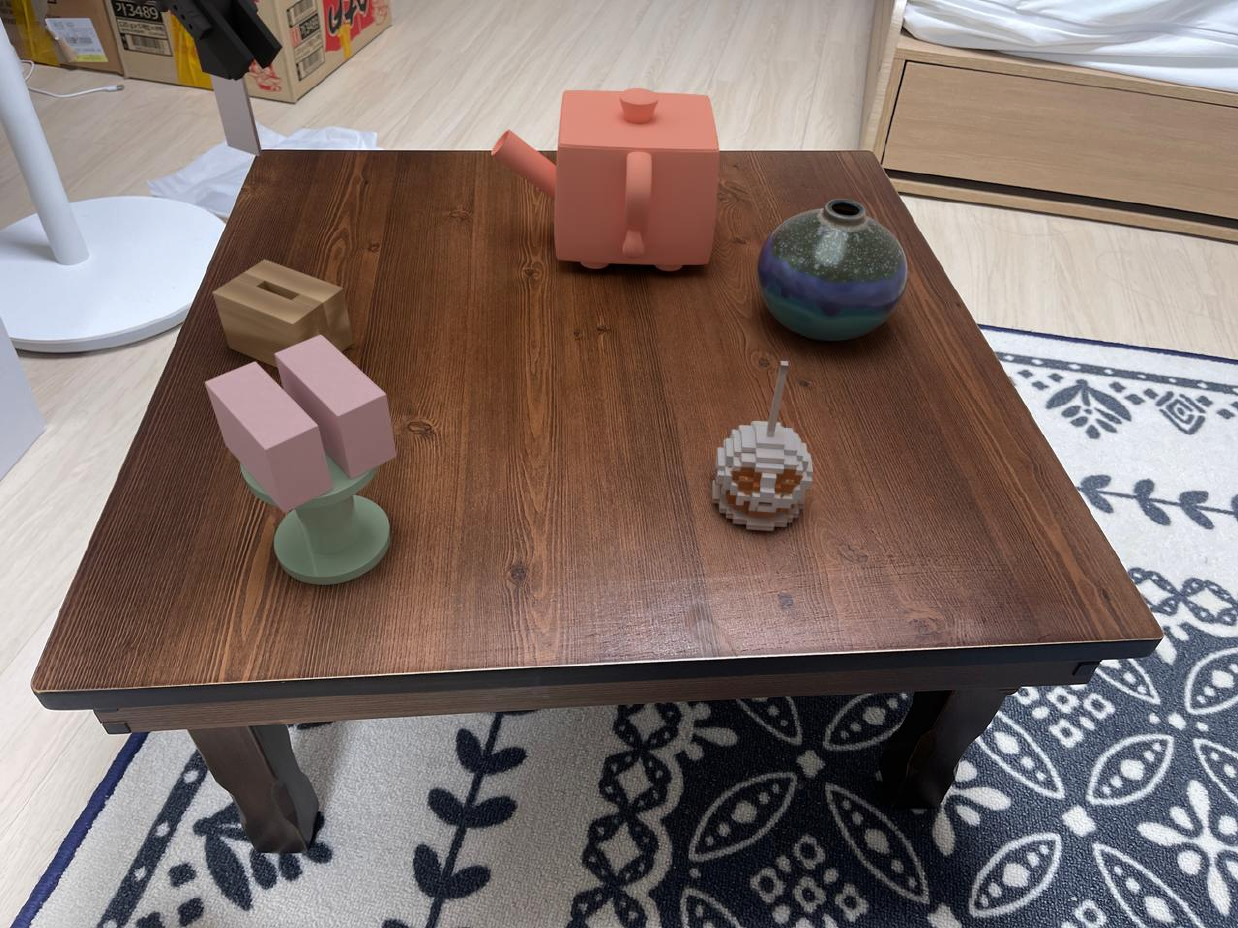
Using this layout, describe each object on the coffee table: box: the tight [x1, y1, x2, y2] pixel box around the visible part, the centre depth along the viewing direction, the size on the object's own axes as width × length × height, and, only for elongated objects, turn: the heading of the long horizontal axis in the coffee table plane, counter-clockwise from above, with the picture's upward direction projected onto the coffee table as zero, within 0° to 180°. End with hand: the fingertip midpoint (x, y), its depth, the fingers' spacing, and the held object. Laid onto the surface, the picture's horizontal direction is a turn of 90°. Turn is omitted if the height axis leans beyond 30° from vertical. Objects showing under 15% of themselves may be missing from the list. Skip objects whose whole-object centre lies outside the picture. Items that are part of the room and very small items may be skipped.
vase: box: [756, 198, 909, 342], centre depth 97 cm, size 15×15×13 cm
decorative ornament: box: [711, 360, 814, 532], centre depth 76 cm, size 8×8×15 cm
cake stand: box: [239, 451, 392, 586], centre depth 72 cm, size 10×10×10 cm
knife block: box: [212, 259, 354, 369], centre depth 92 cm, size 7×10×7 cm
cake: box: [204, 335, 397, 514], centre depth 67 cm, size 9×9×6 cm
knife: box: [192, 0, 264, 157], centre depth 74 cm, size 2×4×16 cm, turn 61°
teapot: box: [490, 87, 720, 272], centre depth 105 cm, size 25×23×18 cm
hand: (258, 63), depth 72 cm, fingers closed on knife, 2 cm apart
